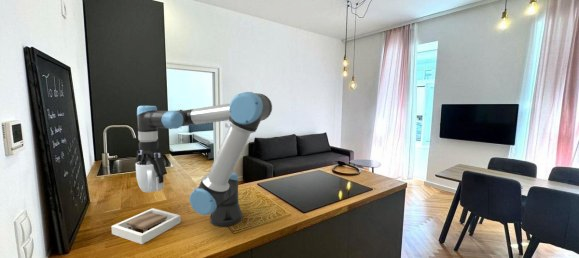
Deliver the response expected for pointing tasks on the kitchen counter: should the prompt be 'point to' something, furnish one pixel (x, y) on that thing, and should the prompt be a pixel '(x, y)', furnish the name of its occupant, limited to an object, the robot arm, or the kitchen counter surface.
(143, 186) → the mug
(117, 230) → the face frame
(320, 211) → the kitchen counter surface
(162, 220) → the brown piece
